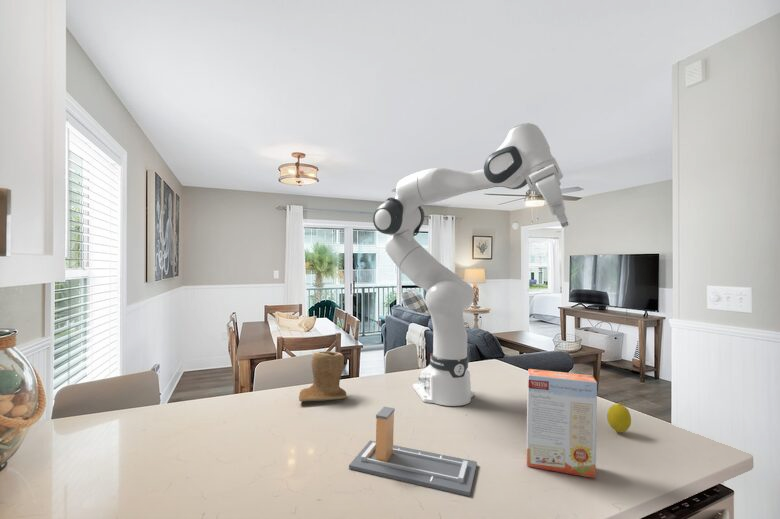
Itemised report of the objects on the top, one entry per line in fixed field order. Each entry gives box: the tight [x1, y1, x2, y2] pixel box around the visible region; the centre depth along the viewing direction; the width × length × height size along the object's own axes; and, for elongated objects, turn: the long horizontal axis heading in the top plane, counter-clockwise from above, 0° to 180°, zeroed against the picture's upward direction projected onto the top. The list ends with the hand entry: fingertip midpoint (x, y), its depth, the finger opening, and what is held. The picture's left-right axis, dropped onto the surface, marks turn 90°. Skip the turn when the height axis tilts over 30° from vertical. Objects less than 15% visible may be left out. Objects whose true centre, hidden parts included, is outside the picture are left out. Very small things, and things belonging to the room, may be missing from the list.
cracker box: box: [526, 368, 598, 479], centre depth 86 cm, size 14×6×21 cm, turn 71°
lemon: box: [606, 403, 632, 434], centre depth 104 cm, size 6×6×8 cm
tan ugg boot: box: [298, 351, 347, 402], centre depth 124 cm, size 15×12×15 cm
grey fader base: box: [348, 440, 478, 497], centre depth 85 cm, size 26×12×2 cm, turn 71°
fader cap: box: [375, 406, 396, 462], centre depth 87 cm, size 3×5×10 cm, turn 161°
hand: (565, 224), depth 101 cm, fingers open, 8 cm apart
